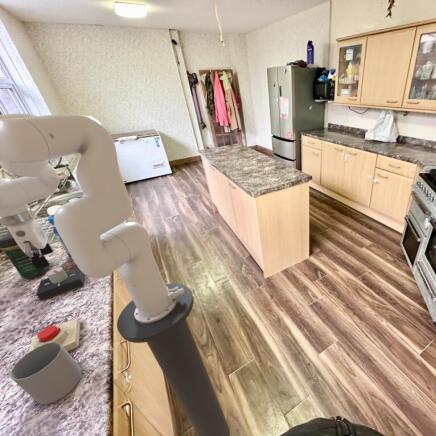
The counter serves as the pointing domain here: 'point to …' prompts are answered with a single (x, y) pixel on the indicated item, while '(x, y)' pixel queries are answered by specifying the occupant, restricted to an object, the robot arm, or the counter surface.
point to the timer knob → (57, 275)
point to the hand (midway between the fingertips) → (45, 260)
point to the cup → (46, 373)
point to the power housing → (62, 336)
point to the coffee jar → (19, 257)
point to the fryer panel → (60, 284)
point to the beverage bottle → (51, 220)
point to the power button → (48, 333)
